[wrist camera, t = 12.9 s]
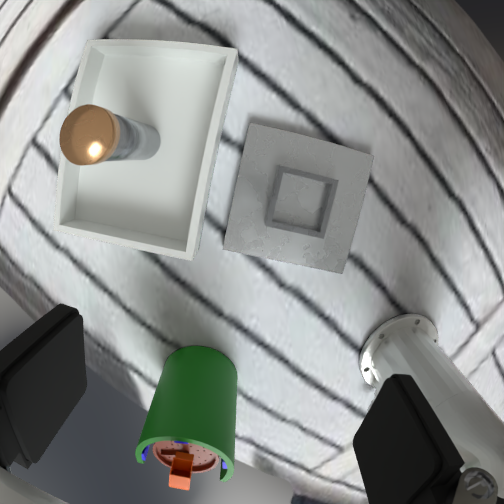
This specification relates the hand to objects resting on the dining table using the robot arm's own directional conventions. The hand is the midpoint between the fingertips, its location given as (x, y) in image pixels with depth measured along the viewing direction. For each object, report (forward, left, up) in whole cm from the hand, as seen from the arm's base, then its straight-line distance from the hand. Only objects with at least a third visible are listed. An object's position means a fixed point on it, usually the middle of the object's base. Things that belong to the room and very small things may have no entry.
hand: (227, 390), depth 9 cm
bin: (+6, +12, -28) cm, 31 cm away
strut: (+6, +12, -27) cm, 30 cm away
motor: (-22, +1, -28) cm, 35 cm away
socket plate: (+3, -6, -28) cm, 28 cm away
